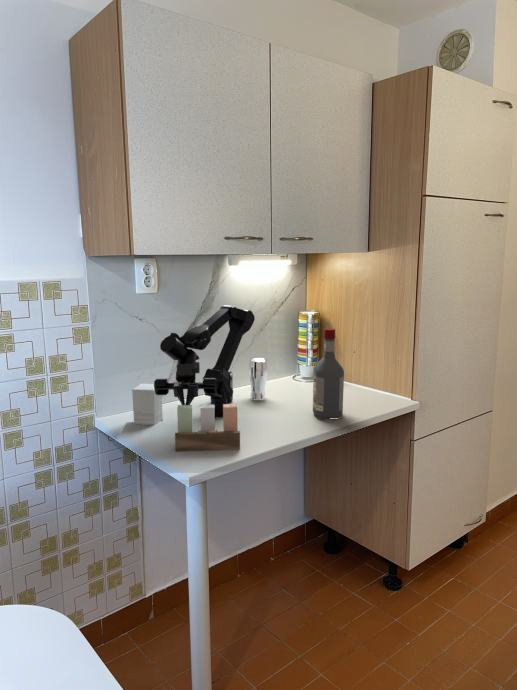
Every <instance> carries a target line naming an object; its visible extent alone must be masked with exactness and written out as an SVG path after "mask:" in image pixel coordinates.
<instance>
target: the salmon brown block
mask: <svg viewBox="0 0 517 690" xmlns="http://www.w3.org/2000/svg"><path fill="white" fill-rule="evenodd" d="M222 417H223V418H222V419H223V420H222V421H223V427H222V429H223V430H222V431H239V430H238V404H237V403H227V404H223V416H222Z"/></svg>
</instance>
